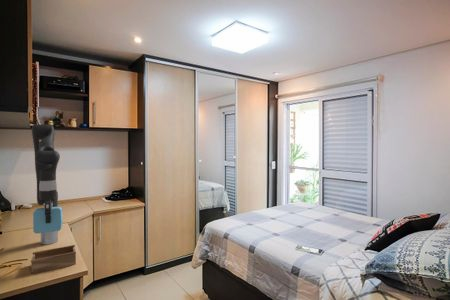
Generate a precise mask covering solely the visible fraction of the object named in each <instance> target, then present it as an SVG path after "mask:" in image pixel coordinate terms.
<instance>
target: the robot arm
mask: <svg viewBox="0 0 450 300" xmlns="http://www.w3.org/2000/svg"><path fill="white" fill-rule="evenodd" d="M31 136H32V142H33V143H32V144H33V149H34V150H33V151H34V169H35V175H36V177H35V178H36V201H37V205H39V206H43V208H44V212H45V220H46V223H51V211H52V207H59V206H58V202H59V200H58V199H59V195H58V194H59V193H58V190H57V189H58V188H57V185H58V184H57V168H58V165H59V163H60V162H59V161H60V157H61V156H60V153H59V152H58V151H57V150H55V145H54V144H55V143H54V142H55V128H54V126H53V125H52V124H48V123H47V124H43V123H42V124H40V123H39V124H37V123H36V124H33V125H32V126H31ZM47 211H49V213H46V212H47ZM58 241H59V231H55V232H46V233H40V245H52V244H55V243H57V242H58Z"/></svg>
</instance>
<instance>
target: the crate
mask: <svg viewBox="0 0 450 300" xmlns="http://www.w3.org/2000/svg"><path fill="white" fill-rule="evenodd" d="M76 257H77V251H76V245H75V244H72V245H67V246H62V247H61V246H60V247H55V248H49V249H45V250H39V251H34V252H32V257H31V260H30V263H31V274H36V273H41V272H45V271H50V270H54V269H59V268H64V267H69V266H74V265H76V264H77V262H76V261H77V258H76Z"/></svg>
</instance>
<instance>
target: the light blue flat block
mask: <svg viewBox="0 0 450 300" xmlns="http://www.w3.org/2000/svg"><path fill="white" fill-rule="evenodd" d="M46 213H49V211H47V212H46ZM32 220H33V221H32V226H33V233H34V234H36V235H37V234H41V233H46V232H55V231H58V232H60V230H62V227H63V208H62V206H58V207H52V211H51V223H46V220H45V212H44V207H38V208H36V209H35V210H34V211H33V212H32Z"/></svg>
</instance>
